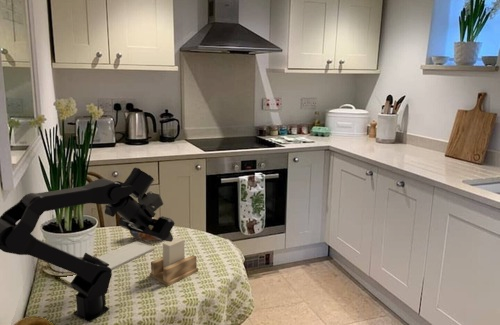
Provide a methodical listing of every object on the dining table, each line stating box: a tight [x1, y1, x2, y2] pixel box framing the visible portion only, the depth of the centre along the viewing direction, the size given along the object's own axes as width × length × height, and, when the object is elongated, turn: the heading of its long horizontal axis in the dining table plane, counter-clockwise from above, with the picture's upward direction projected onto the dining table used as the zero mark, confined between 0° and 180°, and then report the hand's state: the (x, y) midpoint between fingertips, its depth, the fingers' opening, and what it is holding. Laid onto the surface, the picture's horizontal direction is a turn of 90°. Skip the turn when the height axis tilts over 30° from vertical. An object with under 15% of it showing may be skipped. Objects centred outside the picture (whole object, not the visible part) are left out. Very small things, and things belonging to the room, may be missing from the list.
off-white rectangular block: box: [162, 236, 186, 268], centre depth 125 cm, size 6×3×10 cm, turn 141°
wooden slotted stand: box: [149, 254, 199, 287], centre depth 126 cm, size 12×9×5 cm
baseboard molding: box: [59, 237, 155, 286], centre depth 133 cm, size 31×3×12 cm
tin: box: [129, 217, 159, 241], centre depth 151 cm, size 15×3×8 cm, turn 88°
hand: (161, 236), depth 121 cm, fingers open, 9 cm apart
